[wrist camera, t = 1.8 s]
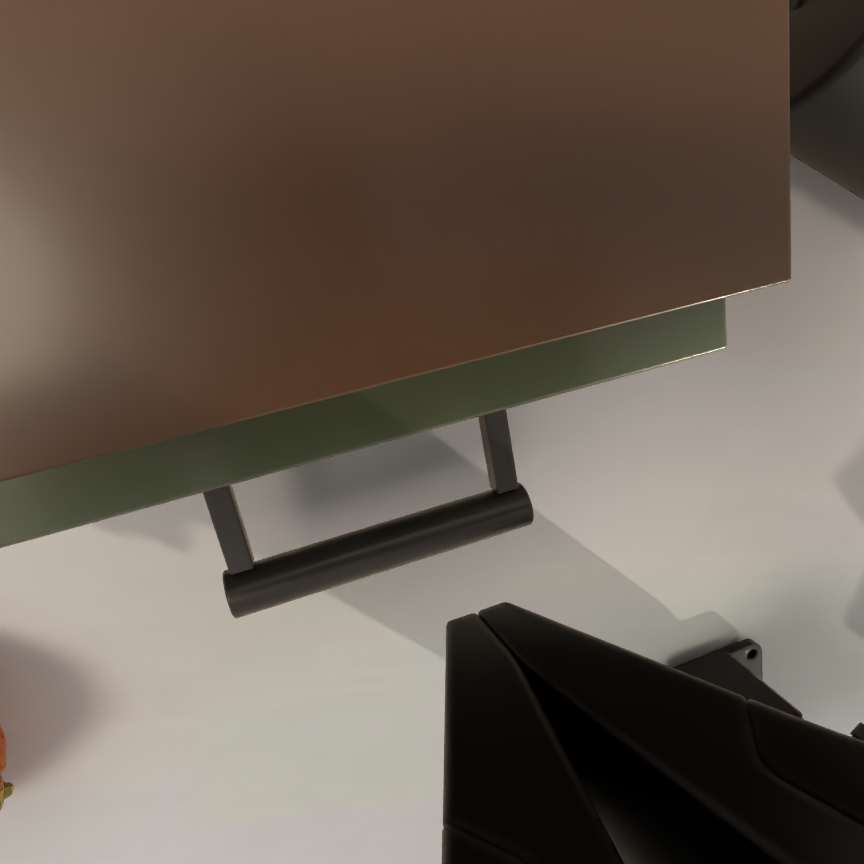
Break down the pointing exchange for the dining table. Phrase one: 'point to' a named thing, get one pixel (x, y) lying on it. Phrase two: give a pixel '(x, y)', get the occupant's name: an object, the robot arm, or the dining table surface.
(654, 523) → the dining table surface
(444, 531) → the drawer
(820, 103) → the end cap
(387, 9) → the cabinet
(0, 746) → the fruit slice
